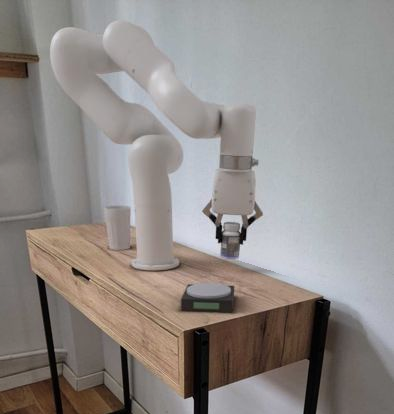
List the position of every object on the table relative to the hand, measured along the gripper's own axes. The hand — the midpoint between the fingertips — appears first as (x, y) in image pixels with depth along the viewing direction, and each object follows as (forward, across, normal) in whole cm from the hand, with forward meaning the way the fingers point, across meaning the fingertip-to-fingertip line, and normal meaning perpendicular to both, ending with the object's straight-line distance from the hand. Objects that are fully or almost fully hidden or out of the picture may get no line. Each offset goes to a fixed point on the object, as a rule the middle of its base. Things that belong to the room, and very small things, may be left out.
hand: (230, 242), depth 119 cm
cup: (+9, +35, -25) cm, 44 cm away
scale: (+7, +3, +25) cm, 26 cm away
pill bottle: (+4, 0, 0) cm, 4 cm away
